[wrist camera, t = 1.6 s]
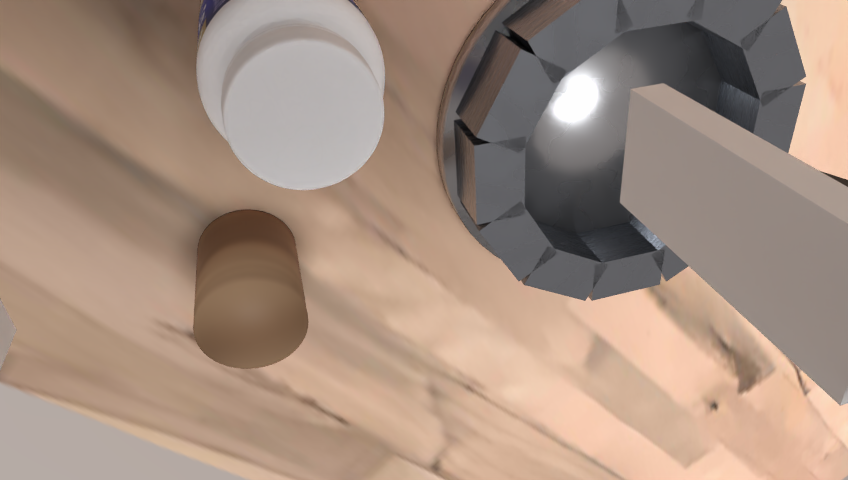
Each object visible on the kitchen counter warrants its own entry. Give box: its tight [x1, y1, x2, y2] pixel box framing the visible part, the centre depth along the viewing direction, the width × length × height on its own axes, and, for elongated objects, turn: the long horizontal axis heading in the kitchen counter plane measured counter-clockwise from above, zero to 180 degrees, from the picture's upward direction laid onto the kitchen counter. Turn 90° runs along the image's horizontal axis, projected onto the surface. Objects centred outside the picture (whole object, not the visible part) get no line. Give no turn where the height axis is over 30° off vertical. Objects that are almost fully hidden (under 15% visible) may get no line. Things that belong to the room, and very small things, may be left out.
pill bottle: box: [196, 0, 385, 190], centre depth 20 cm, size 5×5×9 cm
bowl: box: [437, 0, 806, 301], centre depth 28 cm, size 15×15×4 cm
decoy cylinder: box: [193, 210, 308, 369], centre depth 26 cm, size 4×4×5 cm
